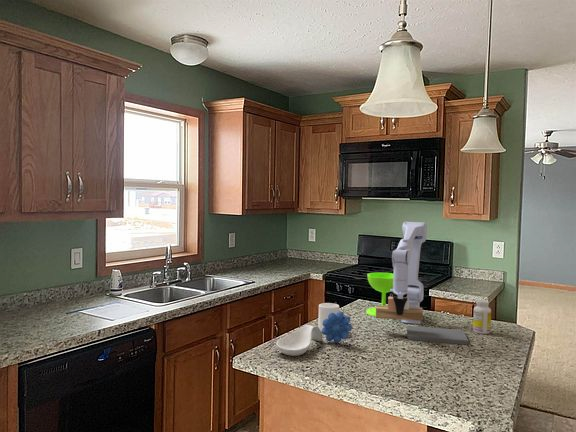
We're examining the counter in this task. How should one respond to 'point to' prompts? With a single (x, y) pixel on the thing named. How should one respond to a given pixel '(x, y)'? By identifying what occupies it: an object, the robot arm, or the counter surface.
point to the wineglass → (380, 287)
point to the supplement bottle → (482, 317)
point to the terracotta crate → (391, 303)
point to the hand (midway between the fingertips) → (399, 312)
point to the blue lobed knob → (336, 327)
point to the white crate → (406, 304)
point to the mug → (326, 312)
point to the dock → (436, 335)
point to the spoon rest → (299, 340)
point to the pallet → (392, 314)
